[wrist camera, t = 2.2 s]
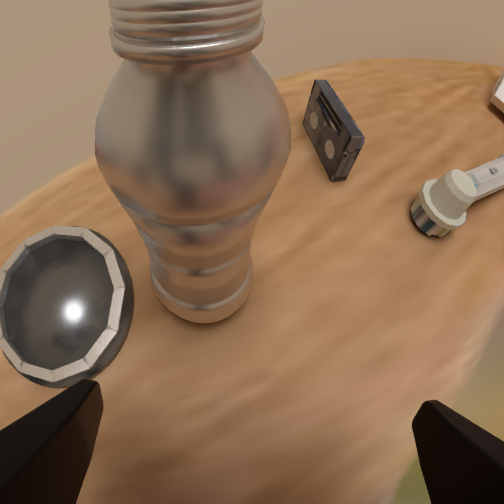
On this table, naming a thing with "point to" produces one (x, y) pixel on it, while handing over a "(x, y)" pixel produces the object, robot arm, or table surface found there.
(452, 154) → the table surface
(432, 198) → the white handheld device
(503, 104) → the pizza boxes
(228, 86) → the plastic bottle
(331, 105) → the mini dv tape
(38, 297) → the pad
